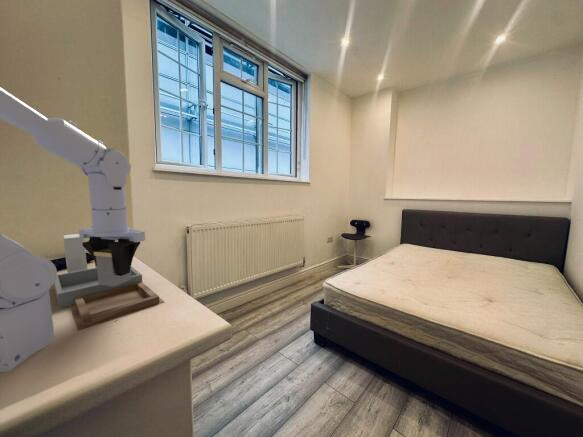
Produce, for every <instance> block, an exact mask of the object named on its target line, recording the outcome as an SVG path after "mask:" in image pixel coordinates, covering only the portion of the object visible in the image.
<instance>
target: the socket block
mask: <svg viewBox="0 0 583 437" xmlns="http://www.w3.org/2000/svg"><path fill="white" fill-rule="evenodd" d="M164 303H166V302H165V301H164V300H163V299H162V298H161V297H160V295H158V294H157V293H155V291H154V290H153V289H151V288H150V287H149V286H148V285H146V284H145V283H144V282H143V281H142V282H138V283H134V284H130V285H126V286H122V287H117V288H113V289H109V290H105V291H101V292H97V293H93V294H89V295H85V296H81V297H77V298H75V304H73V305H70V306H69V307H70V310H71V313H72V316H73V318H74V323H75V325H76V327H77V332H78V331H82V330H85V329H89V328H92V327H93V326H97V325H100V324H103V323H106V322H109V321H112V320H116V319H119V318H121V317H125V316H127V315H130V314H134V313H137V312H140V311H143V310H145V309H146V310H147V309H149V308H152V307H156V306H158V305H162V304H164Z"/></svg>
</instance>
